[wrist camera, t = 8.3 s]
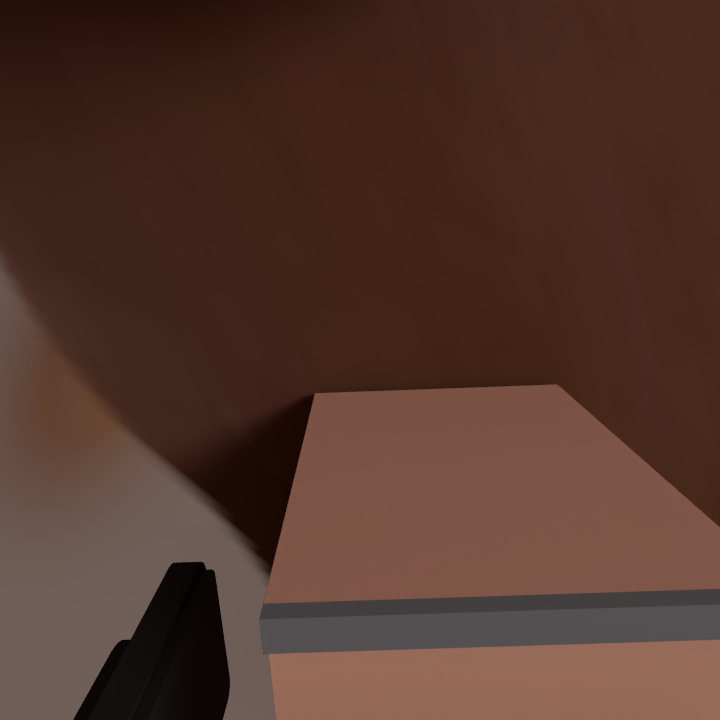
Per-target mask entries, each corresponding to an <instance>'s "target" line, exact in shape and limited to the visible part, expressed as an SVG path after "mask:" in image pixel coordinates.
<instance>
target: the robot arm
mask: <svg viewBox="0 0 720 720" xmlns="http://www.w3.org/2000/svg"><path fill="white" fill-rule="evenodd" d="M229 688H230V678H229V669H228V662H227V655H226V649H225V642H224V635H223V627H222V620H221V614H220V605H219V598H218V591H217V584H216V578H215V572H214V571H213V570H206V568H205V565H204V563H203V562H187V563H186V562H182V563H173V564H171V566H170V567H169V569H168V571H167V572H166V574H165V576H164V578H163V580H162V582H161V584H160V586H159V587H158V589H157V591H156V593H155V595H154V597H153V599H152V601H151V602H150V604H149V606H148V608H147V610H146V612H145V614H144V616H143V618H142V619H141V621H140V623H139V625H138V627H137V629H136V631H135V633H134V635H133V637H132V638H131V640H121V641H120V642H119V643H117V645H116V646H115V647H114V649H113V650H112V652H111V653H110V655H109V657H108V659H107V661H106V663H105V664H104V666H103V668H102V669H101V671H100V673H99V675H98V677H97V678H96V680H95V682H94V684H93V685H92V687H91V689H90V691H89V693H88V694H87V696H86V698H85V700H84V701H83V703H82V705H81V707H80V709H79V710H78V712H77V714H76V716H75V718H74V720H223V717H224V713H225V709H226V705H227V701H228V697H229Z"/></svg>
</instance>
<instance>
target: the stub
mask: <svg viewBox="0 0 720 720" xmlns="http://www.w3.org/2000/svg"><path fill="white" fill-rule="evenodd" d="M260 628H261V637H262V645H263V654H269V660H270V669H271V678H272V688H273V697H274V706H275V714H276V715H275V716H276V720H720V527H719V526H717V525H716V524H715V523H714V522H713V521H712V520H711V519H710V518H708V517H707V516H706V515H705V514H704V513H703V512H702V511H700V510H699V509H698V508H697V507H696V506H695V505H694V504H692V503H691V502H690V501H689V500H688V499H687V498H686V497H685V496H683V495H682V494H681V493H680V492H679V491H678V490H677V489H675V488H674V487H673V486H672V485H671V484H670V483H669V482H667V481H666V480H665V479H664V478H663V477H662V476H661V475H660V474H658V473H657V472H656V471H655V470H654V469H653V468H652V467H650V466H649V465H648V464H647V463H646V462H645V461H644V460H642V459H641V458H640V457H639V456H638V455H637V454H636V453H635V452H633V451H632V450H631V449H630V448H629V447H628V446H627V445H625V444H624V443H623V442H622V441H621V440H620V439H619V438H617V437H616V436H615V435H614V434H613V433H612V432H611V431H609V430H608V429H607V428H606V427H605V426H604V425H603V424H602V423H600V422H599V421H598V420H597V419H596V418H595V417H594V416H592V415H591V414H590V413H589V412H588V411H587V410H586V409H584V408H583V407H582V406H581V405H580V404H579V403H578V402H577V401H575V400H574V399H573V398H572V397H571V396H570V395H569V394H567V393H566V392H565V391H564V390H563V389H562V388H561V387H559V386H558V385H531V386H503V387H476V388H449V389H422V390H394V391H367V392H340V393H315V395H314V400H313V404H312V408H311V412H310V416H309V420H308V424H307V428H306V432H305V436H304V440H303V444H302V448H301V452H300V457H299V461H298V465H297V469H296V473H295V477H294V481H293V485H292V489H291V493H290V497H289V501H288V505H287V510H286V514H285V518H284V522H283V526H282V530H281V534H280V538H279V542H278V546H277V550H276V554H275V558H274V562H273V567H272V571H271V575H270V579H269V583H268V587H267V591H266V595H265V600H264V604H263V608H262V611H261V615H260Z"/></svg>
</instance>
